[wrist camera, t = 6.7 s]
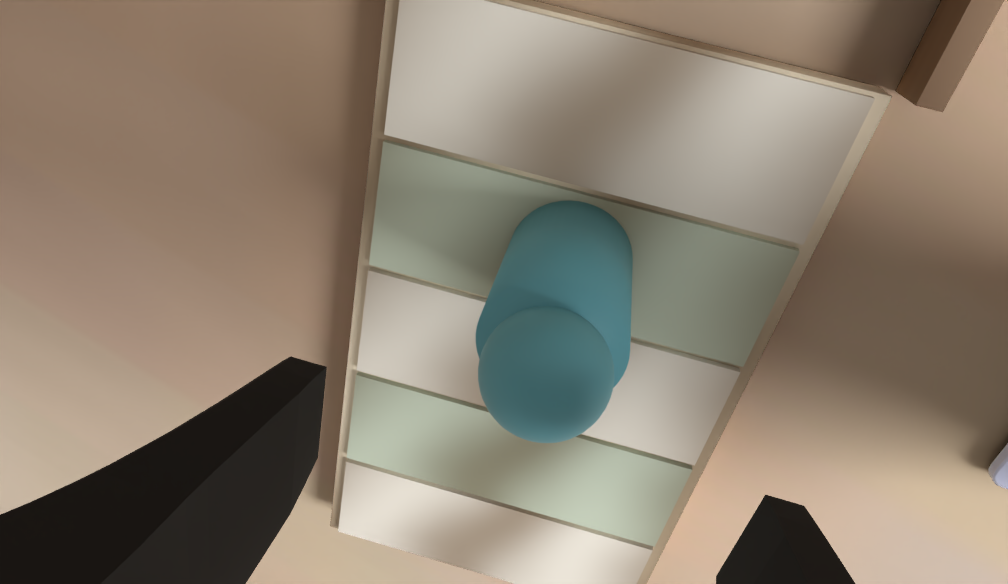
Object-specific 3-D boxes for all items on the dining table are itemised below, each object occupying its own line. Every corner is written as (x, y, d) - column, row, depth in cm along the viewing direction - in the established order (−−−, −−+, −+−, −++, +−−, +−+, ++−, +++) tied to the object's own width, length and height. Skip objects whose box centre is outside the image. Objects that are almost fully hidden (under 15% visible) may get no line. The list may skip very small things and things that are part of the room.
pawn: (649, 219, 18) (653, 371, 12) (612, 325, 19) (599, 503, 14) (523, 186, 18) (465, 320, 12) (498, 293, 20) (436, 456, 14)
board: (1280, -587, 11) (1362, -650, 9) (655, 599, 26) (656, 632, 25) (425, -753, 11) (399, -832, 10) (316, 499, 27) (301, 527, 26)
